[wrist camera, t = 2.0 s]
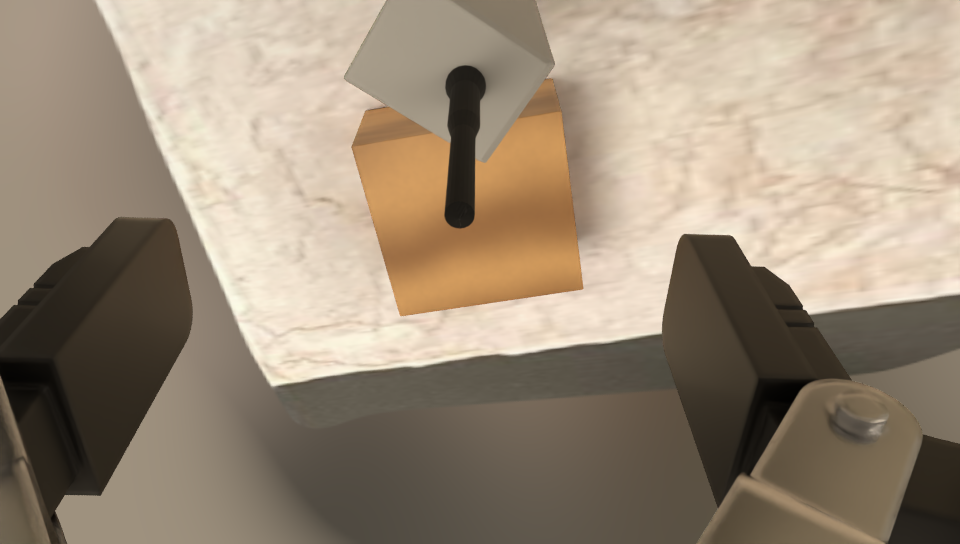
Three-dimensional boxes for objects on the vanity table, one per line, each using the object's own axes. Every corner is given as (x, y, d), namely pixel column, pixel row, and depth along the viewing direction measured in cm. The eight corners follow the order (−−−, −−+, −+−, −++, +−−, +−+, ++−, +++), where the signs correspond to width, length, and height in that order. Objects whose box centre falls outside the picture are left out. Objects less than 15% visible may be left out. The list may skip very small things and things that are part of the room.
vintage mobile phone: (436, -98, 34) (365, 50, 13) (525, -35, 35) (597, 194, 14) (395, -26, 35) (272, 214, 14) (482, 32, 37) (488, 327, 16)
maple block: (365, 110, 39) (351, 146, 35) (552, 77, 38) (561, 110, 34) (407, 268, 44) (399, 316, 40) (573, 243, 43) (583, 289, 39)
